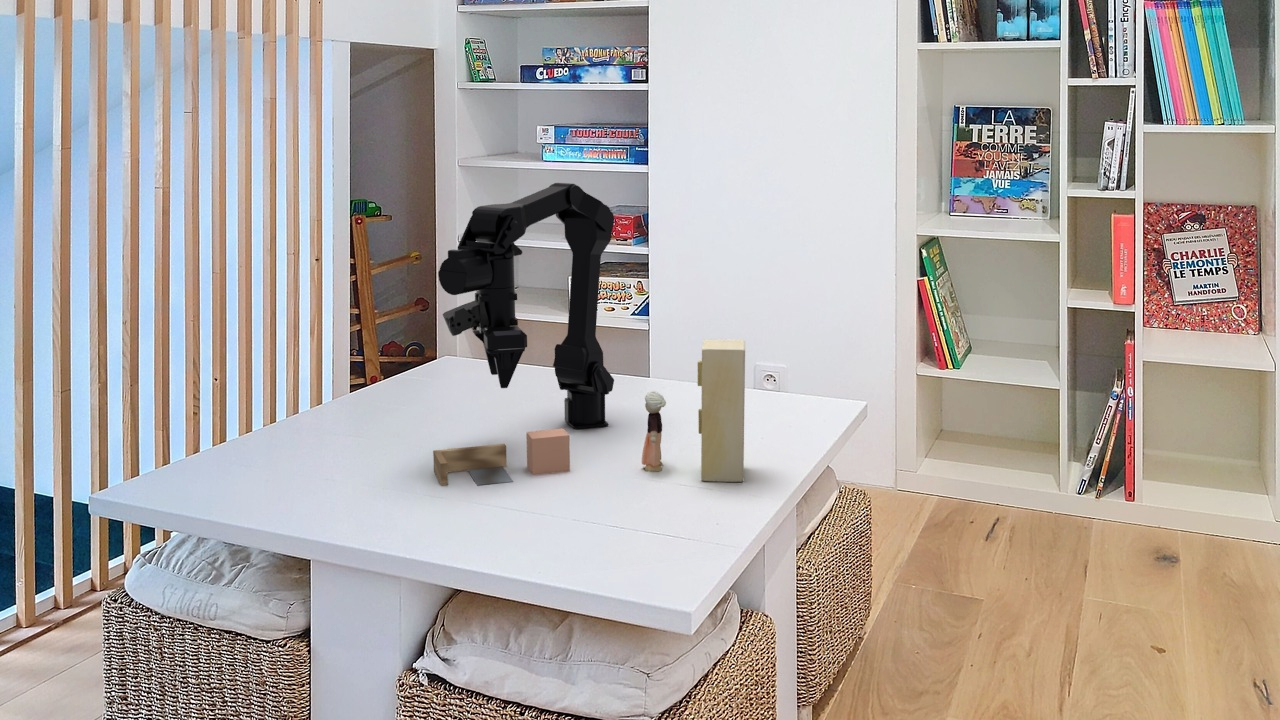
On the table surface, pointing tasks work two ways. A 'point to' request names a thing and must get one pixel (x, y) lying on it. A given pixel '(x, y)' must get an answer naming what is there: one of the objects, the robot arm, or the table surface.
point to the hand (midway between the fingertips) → (499, 381)
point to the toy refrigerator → (722, 409)
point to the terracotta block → (548, 451)
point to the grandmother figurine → (653, 432)
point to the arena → (473, 463)
